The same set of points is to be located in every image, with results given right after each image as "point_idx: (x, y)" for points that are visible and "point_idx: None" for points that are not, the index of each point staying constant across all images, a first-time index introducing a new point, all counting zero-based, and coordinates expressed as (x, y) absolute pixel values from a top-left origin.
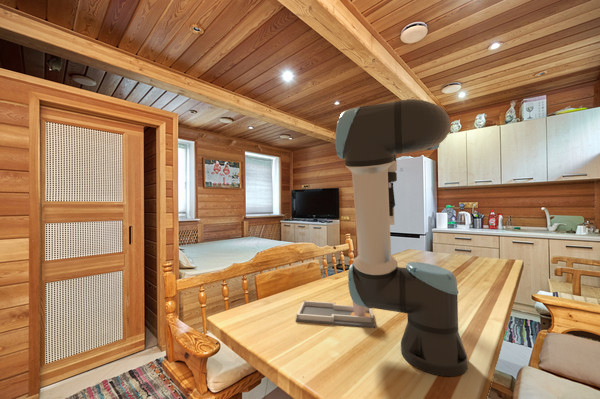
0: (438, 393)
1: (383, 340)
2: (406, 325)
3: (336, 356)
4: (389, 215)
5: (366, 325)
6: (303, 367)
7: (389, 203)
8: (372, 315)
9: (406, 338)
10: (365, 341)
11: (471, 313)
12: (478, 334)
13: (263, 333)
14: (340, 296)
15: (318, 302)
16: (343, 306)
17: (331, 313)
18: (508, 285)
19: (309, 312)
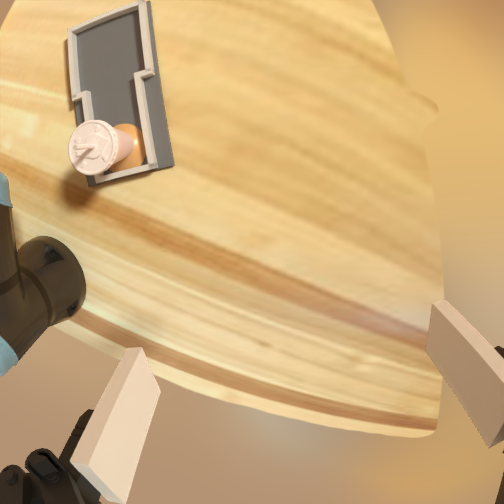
0: None
1: (57, 207)
2: (24, 258)
3: (3, 148)
4: (85, 415)
5: None
6: None
7: (5, 486)
8: (108, 179)
9: (18, 252)
10: (44, 178)
11: (245, 371)
12: (151, 356)
13: (28, 20)
14: (252, 65)
15: (141, 34)
16: (137, 98)
17: (113, 80)
18: (416, 433)
19: (105, 36)
